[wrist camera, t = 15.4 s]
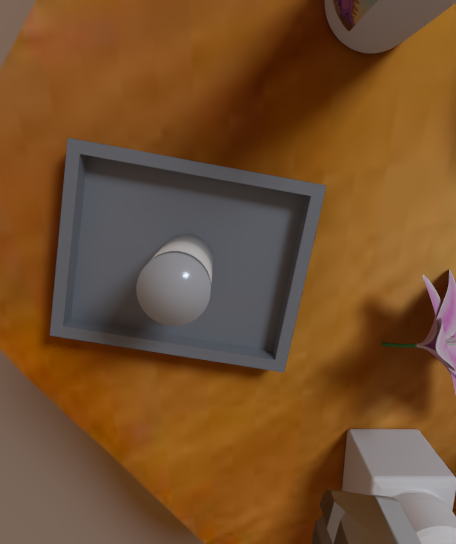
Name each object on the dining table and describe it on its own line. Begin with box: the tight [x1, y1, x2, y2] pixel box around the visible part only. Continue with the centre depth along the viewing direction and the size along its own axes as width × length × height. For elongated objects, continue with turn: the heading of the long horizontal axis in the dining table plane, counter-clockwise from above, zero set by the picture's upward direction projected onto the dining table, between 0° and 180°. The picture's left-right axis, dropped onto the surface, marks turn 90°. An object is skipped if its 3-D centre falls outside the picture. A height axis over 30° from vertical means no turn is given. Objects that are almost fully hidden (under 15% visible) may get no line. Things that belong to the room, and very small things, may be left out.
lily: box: [382, 269, 456, 393], centre depth 35 cm, size 12×12×10 cm
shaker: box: [136, 233, 213, 326], centre depth 31 cm, size 5×5×10 cm
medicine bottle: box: [342, 429, 456, 544], centre depth 36 cm, size 7×7×12 cm
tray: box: [50, 138, 326, 372], centre depth 35 cm, size 20×16×3 cm
